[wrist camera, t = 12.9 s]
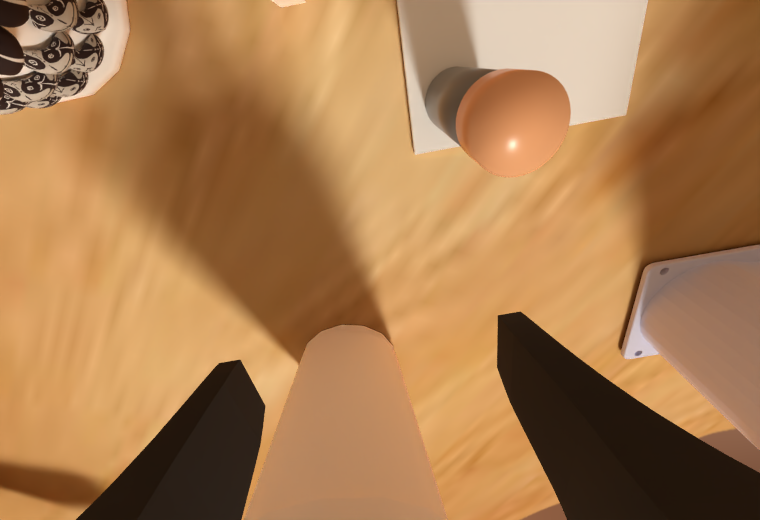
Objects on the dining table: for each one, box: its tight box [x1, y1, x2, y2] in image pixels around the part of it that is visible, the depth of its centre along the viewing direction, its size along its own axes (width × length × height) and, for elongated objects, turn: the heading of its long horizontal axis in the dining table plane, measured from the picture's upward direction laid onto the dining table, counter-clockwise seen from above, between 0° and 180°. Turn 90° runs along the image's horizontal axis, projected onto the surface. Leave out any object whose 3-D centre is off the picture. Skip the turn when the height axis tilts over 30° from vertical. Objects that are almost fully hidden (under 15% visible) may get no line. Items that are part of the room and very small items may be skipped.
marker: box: [425, 66, 571, 177], centre depth 12 cm, size 3×3×7 cm
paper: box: [397, 0, 648, 155], centre depth 14 cm, size 10×8×1 cm
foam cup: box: [244, 325, 448, 520], centre depth 18 cm, size 10×9×13 cm
